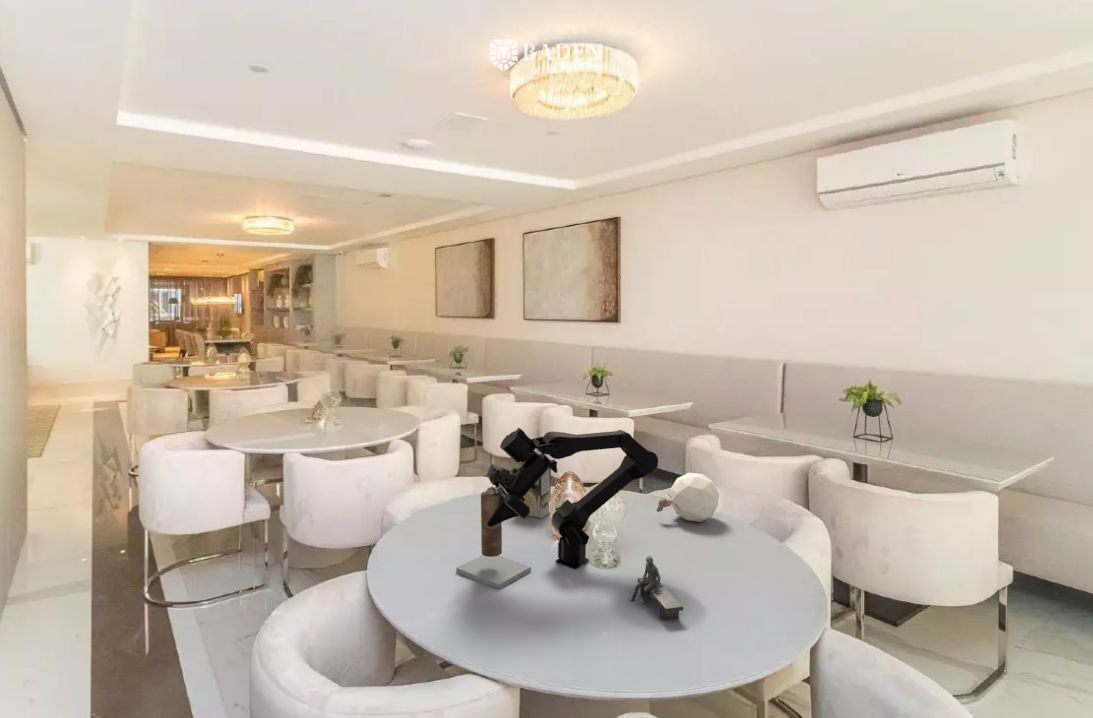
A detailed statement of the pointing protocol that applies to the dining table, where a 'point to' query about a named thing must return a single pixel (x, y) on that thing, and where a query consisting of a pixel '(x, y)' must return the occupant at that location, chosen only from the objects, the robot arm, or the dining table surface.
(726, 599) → the dining table surface
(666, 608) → the sculpture
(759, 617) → the dining table surface
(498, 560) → the slate board
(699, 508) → the faceted white ball
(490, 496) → the pepper mill
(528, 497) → the coffee box
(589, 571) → the dining table surface
